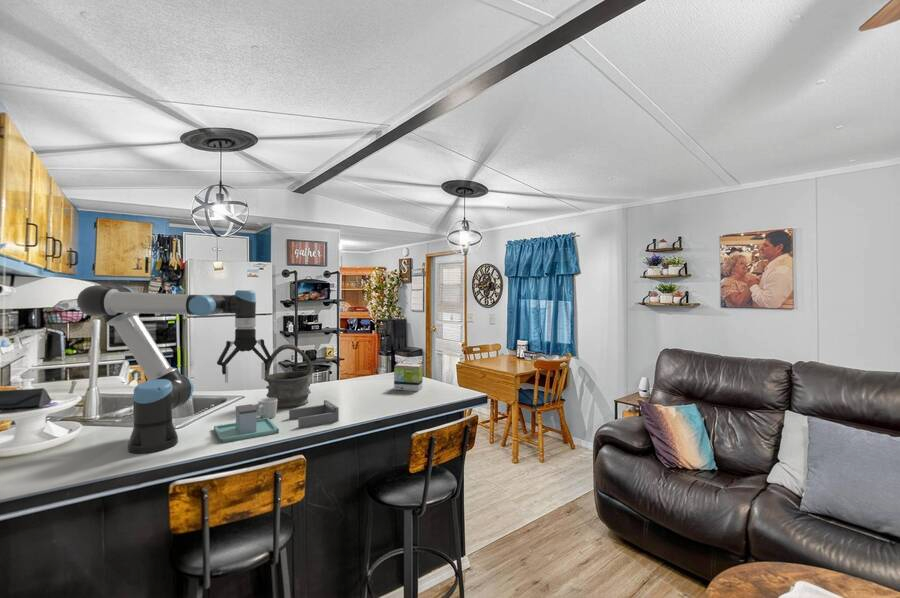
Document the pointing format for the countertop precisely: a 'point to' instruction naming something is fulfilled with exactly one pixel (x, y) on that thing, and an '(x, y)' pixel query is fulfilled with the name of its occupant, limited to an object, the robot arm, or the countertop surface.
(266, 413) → the cup
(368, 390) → the countertop surface
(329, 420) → the tray
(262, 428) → the tray
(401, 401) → the countertop surface
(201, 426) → the countertop surface
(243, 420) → the block
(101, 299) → the robot arm
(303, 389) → the dark handled basket
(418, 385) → the tea box
